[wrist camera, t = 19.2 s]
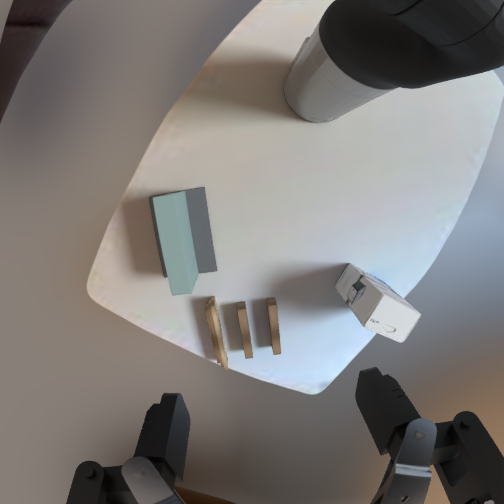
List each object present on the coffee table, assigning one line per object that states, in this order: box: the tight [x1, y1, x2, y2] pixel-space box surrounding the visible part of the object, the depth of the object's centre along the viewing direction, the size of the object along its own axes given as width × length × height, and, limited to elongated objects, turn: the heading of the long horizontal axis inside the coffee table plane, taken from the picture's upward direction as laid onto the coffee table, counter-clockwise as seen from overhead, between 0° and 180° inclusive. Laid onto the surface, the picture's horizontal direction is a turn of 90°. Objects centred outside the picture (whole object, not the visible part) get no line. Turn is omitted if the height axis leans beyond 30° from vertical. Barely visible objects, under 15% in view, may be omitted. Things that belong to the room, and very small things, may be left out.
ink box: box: [335, 263, 421, 342], centre depth 36 cm, size 9×5×12 cm, turn 63°
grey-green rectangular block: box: [153, 191, 199, 296], centre depth 34 cm, size 7×2×12 cm
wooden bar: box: [205, 296, 228, 371], centre depth 41 cm, size 12×2×4 cm, turn 7°
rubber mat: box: [149, 187, 217, 277], centre depth 37 cm, size 12×8×1 cm, turn 7°
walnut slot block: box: [237, 298, 281, 359], centre depth 41 cm, size 9×6×2 cm, turn 7°
